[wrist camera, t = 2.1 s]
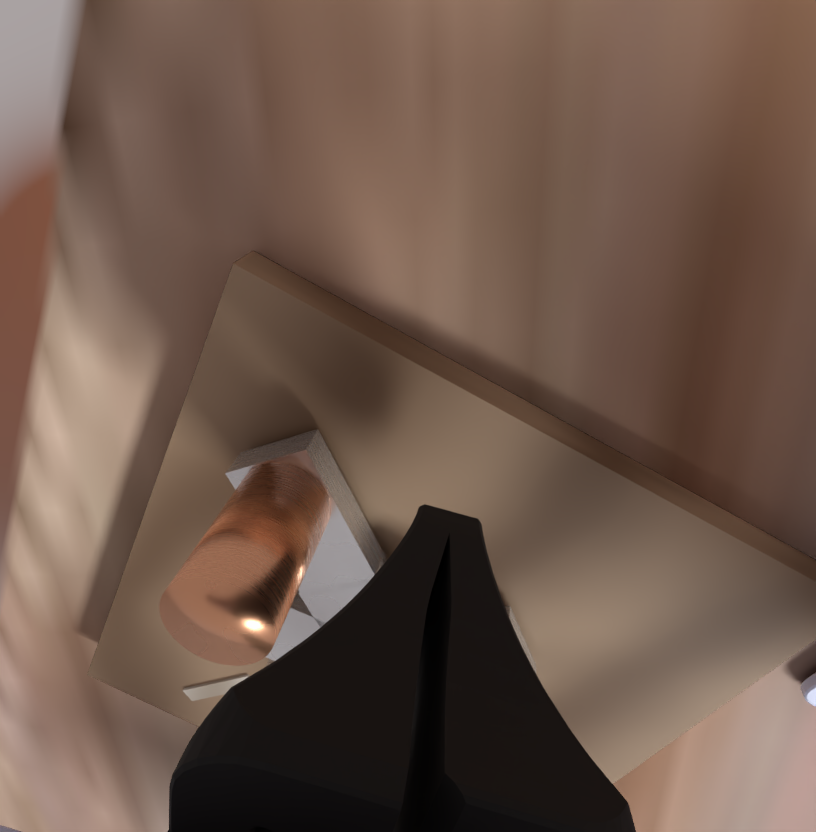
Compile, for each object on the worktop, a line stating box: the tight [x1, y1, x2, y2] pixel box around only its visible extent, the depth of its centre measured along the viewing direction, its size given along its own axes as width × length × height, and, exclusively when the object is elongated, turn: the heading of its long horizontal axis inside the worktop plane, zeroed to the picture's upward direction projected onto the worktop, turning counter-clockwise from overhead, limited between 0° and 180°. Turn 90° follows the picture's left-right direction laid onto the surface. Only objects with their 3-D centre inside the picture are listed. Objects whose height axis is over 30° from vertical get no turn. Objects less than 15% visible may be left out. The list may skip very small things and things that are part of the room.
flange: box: [159, 429, 536, 673], centre depth 16 cm, size 12×8×5 cm, turn 23°
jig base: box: [87, 251, 816, 784], centre depth 18 cm, size 18×18×6 cm
